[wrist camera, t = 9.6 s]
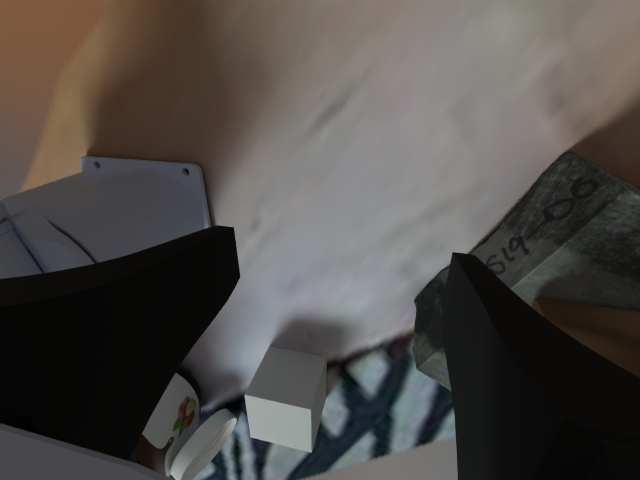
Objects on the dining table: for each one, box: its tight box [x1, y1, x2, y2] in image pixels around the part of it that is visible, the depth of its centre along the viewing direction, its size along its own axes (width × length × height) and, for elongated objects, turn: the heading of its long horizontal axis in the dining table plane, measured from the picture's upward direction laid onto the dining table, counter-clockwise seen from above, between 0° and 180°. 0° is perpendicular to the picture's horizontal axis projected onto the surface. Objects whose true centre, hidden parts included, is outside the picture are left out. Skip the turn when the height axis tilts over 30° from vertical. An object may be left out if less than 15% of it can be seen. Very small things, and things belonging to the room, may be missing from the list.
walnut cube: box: [531, 298, 640, 377], centre depth 14 cm, size 5×5×5 cm
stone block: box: [412, 151, 640, 391], centre depth 19 cm, size 9×14×5 cm, turn 153°
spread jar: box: [129, 366, 237, 480], centre depth 30 cm, size 12×11×12 cm
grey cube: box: [245, 346, 327, 453], centre depth 28 cm, size 5×5×5 cm
